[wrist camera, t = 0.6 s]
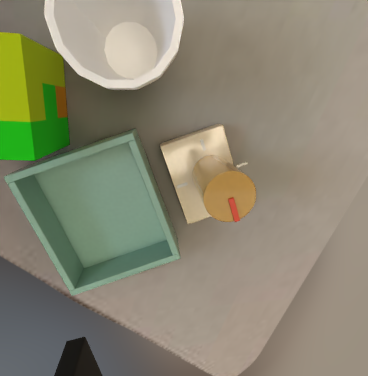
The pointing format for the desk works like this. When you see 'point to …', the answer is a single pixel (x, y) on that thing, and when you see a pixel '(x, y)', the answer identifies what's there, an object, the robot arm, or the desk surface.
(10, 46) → the puzzle toy
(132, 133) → the basin
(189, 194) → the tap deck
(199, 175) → the tap handle
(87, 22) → the foam cup
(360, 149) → the desk surface
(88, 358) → the robot arm
